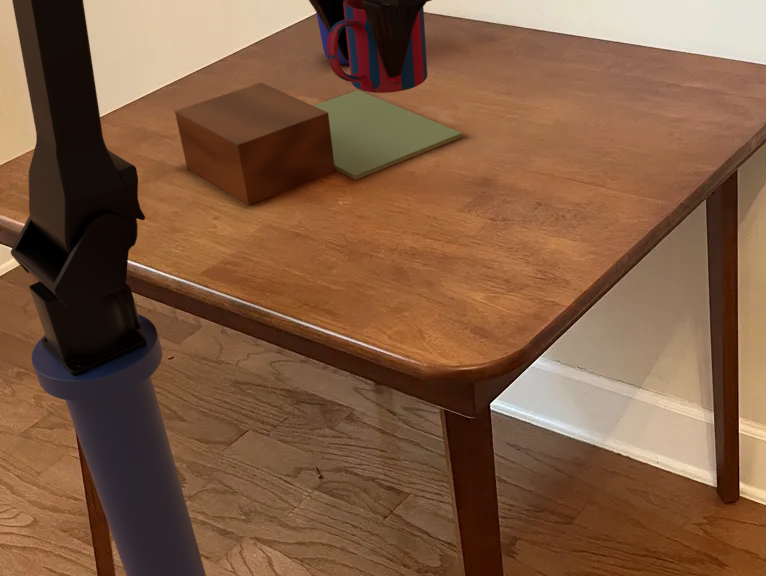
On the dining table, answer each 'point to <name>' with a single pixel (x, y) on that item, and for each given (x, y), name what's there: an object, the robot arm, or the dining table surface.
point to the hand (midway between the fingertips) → (372, 67)
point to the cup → (375, 53)
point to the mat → (378, 133)
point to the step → (256, 142)
